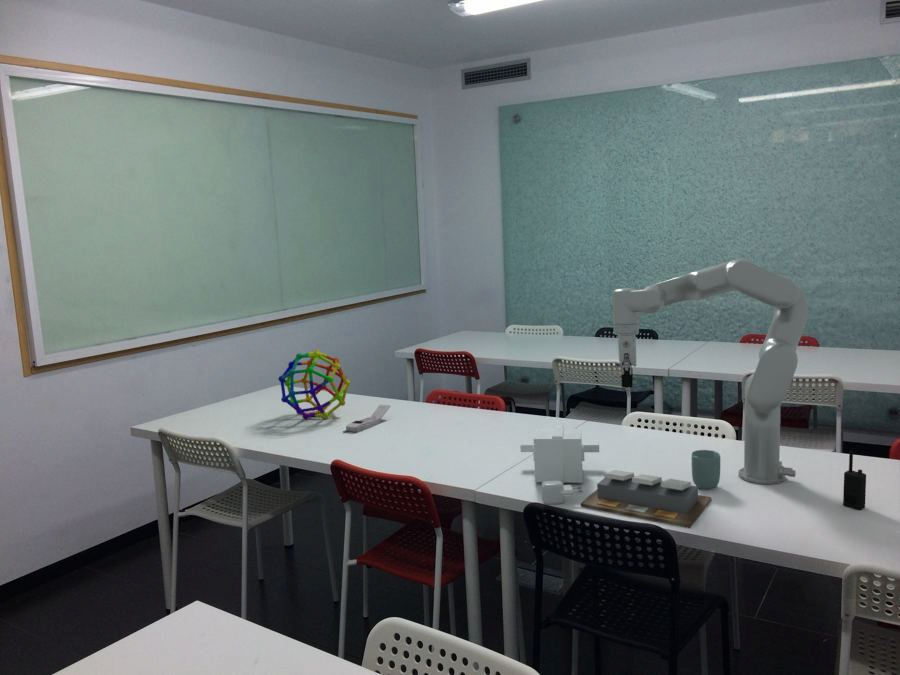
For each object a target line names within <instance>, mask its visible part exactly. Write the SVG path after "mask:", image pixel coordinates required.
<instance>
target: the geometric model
mask: <svg viewBox="0 0 900 675" xmlns="http://www.w3.org/2000/svg"><path fill="white" fill-rule="evenodd" d="M304 358H307V359H308V358H309V359H308V360H307V361H301V362H300V360H302V359H304ZM319 360H322V361H324V362H325V363H327V364H329V365H323V364H321V363H318V361H319ZM339 362H340V359H339V358H338V357H333V356H330V355H327V354H325V353H323V352H321V351H320V350H319V349H314V351H310V352H307V353H297V354H296V355H295V358H294V359H293V360H292V361H289V362H288V367H286V369H285V371H284V372H283V373H282V375H280V376H278V381H279V382H280V388H281V394H282V395H281V399H280V400H281V402H282V403H285V404H287V405H289V406H290V407H291V408H293V409H294V410H295V412H296V415H301V416H302V418H303V420H308V419H309V418H311V419H312V418H313V419H314V418H323V419H325V420H326V419H329V416H330V415H331V414H332V413H333V412H335V411H336V410H338V408H340V407H341V406H342V407H343V406H345V405H346V401H345V400H346V395H347V392H348V388H349V387H350V386H351V381H350V380H349V379H348V378H347V376H346V375H345V374H344V372H343V370H342V367H341V365H340V363H339ZM305 365H307V366H306V368H304V369H296V368H297V367H298V366H305ZM315 367H317V368H321V369H323V370H326V373H325V374H324V373H321V372H320V371H317V370H315V369H314V368H315ZM330 372H331V373H330ZM302 373H304V375H303V377H302V378H301V379H295V380H294V376H295V374H302ZM313 374H314V375H316V376H318V377H320V378H323V381H322V382H321V383H318V382H315V381H314V379H313ZM335 376H337V377H339V378H340V382H339V385H338V388H337V387H336V385H335V382H334V377H335ZM308 377H309V379H308ZM299 383H302V384H303V388H304V390H298V391H295V389H294V388H295V384H299ZM329 383H330V386H331V388H332V390H333V391H332V390H331V389H330V388H328V387H327V385H328V384H329ZM308 384H309V389H308ZM343 384H344V385H343ZM285 386H286V387H287V388H286V387H285ZM285 388H286V389H287V390H288V391H287V392H288V393H287V395H286V389H285ZM324 390H325V391H326V392H327V393H328V394H330V395H331V396H332V398H330V399H329V400H327V401H326V402H324V403H323V404H320V401H319V399H318V397H317V395H318V394H319V393H320V392H321V391H324ZM297 395H305V398H303V399H297V398H296V396H297ZM312 399H313V400H314V401H313V400H312ZM335 401H338V404H336V405H335V406H334V407H332V408H331V409H329V411H327V412H326V410H327V409H328V407H329V406H330V405H331V404H333V403H334V402H335ZM305 402H306V403H309V404H310V405H311V406H313V407H307V408H301V406H300V405H299V404H301V403H305ZM311 411H312V412H311ZM307 412H310V413H307Z"/></svg>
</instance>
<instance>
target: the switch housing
mask: <svg viewBox="0 0 900 675" xmlns="http://www.w3.org/2000/svg"><path fill="white" fill-rule="evenodd" d="M634 477H635V475H634ZM663 481H664V480H662V482H663ZM596 487H597V489H596V490H597V495H598V498H604V499H609V500H615V501H620V502H625V503H631V504H636V505H642V506H647V507H652V508H658V509H663V510H669V511H674V512H680V513H685V514H688V512H689V511H690V510H691V509H692V507H693V506H694V505H695V504H696V503H697V501H698V495H699V488H698V487H697V486H696V485H691V486H690V487H688V488H686V489H683V490H677V489H671V488H665V487H661V482H659V483H657V484H654V485H647V484H641V483H635V482H632V478H630V479H627V480H624V481H623V480H617V479H611V478H605V477H603V479H601V480H600V481H599V482H598V483H597V485H596Z"/></svg>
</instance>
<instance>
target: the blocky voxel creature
mask: <svg viewBox="0 0 900 675" xmlns="http://www.w3.org/2000/svg"><path fill="white" fill-rule="evenodd" d="M519 448H520V452H521V453H532V454H533V456H532V457H533V462H534V482H535V483H542V482H544V481H561V482H562V484H563V485H565V483H571V484H572V483H573V484H574V483H579V484H581V483H583V462H585V453H600V443H597V442H596V443H595V442H594V443H592V442H591V443H589V442H588V443H587V442H586V443H585V442H583V443H582V428H564V426H557V425H556V426H554V425H553V428H536V430H535V433H534V438H533V442H532V443H528V442H524V443H523V442H521V443H520V447H519Z"/></svg>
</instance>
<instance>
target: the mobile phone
mask: <svg viewBox="0 0 900 675" xmlns="http://www.w3.org/2000/svg"><path fill="white" fill-rule="evenodd" d="M390 407H391V405H390V404H389V405H388V404H379V405H378V406H377V408H376V410H375V411H374V412H373V413H372V414H371V416H367V417H365V418H362V419H360V420H354V421H353V422H350V423H348V424H347V425H346V426H345V430H343V431H342V433H343V434H344V433H348V432H363V431H365V430H367V429H369V428H371V427H374V426H376V425H379V424H380V423H381V420H382V418H383V417H384V416H385V415H386V413H387V412H388V411H389V409H390Z"/></svg>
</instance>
